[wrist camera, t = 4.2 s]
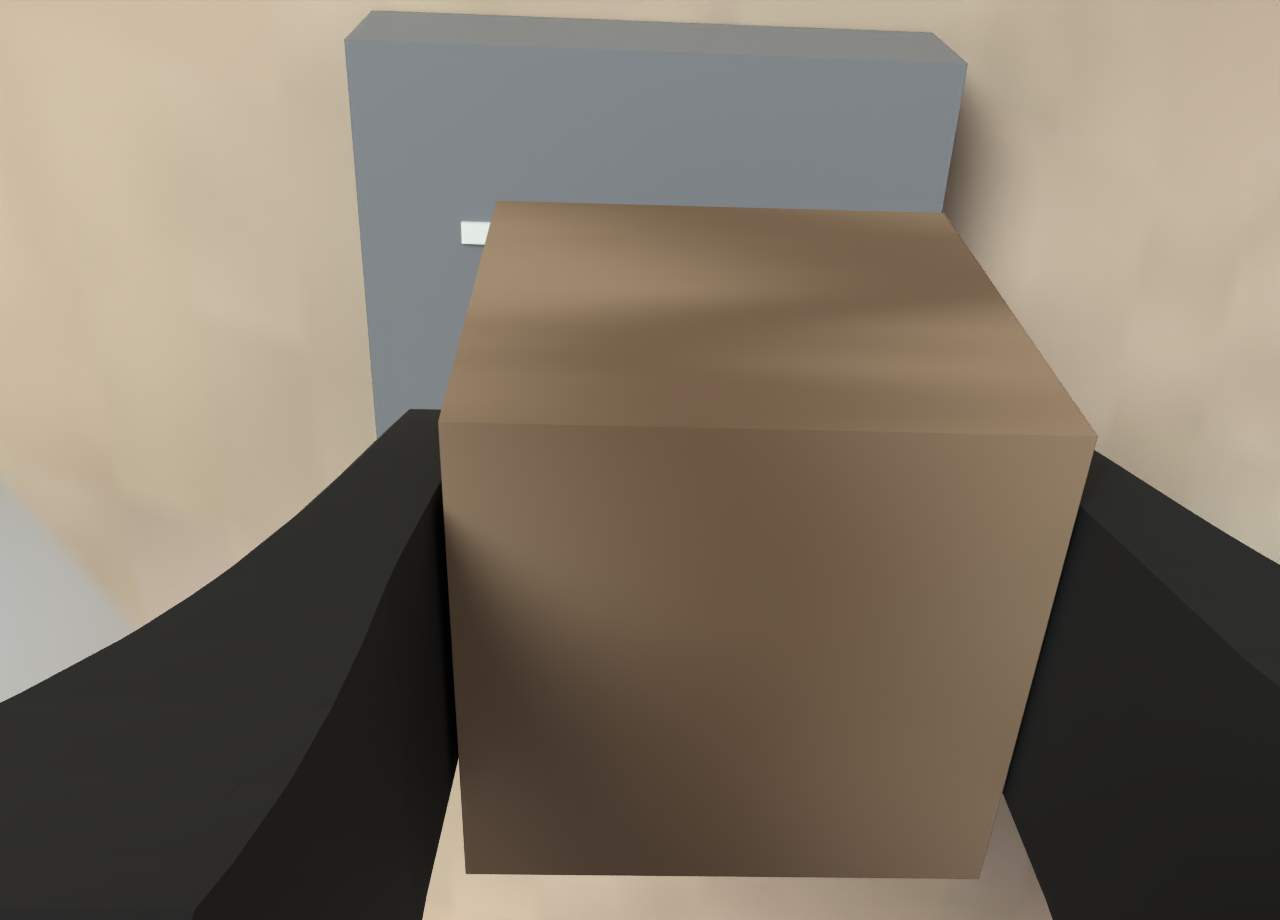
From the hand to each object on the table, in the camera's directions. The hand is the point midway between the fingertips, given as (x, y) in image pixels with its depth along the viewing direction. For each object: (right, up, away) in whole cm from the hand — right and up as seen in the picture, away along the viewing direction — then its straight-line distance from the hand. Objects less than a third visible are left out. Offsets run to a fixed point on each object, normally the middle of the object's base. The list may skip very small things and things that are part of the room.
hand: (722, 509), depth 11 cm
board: (-1, +2, +9) cm, 9 cm away
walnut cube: (0, +1, +2) cm, 2 cm away
